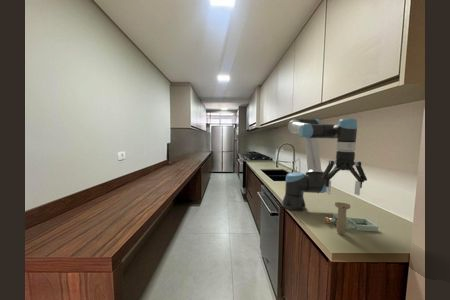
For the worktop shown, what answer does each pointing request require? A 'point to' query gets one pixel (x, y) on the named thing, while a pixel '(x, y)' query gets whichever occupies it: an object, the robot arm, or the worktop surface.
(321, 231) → the worktop surface
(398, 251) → the worktop surface
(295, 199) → the robot arm
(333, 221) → the lock pin
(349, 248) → the worktop surface
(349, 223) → the dock
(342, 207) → the handle
